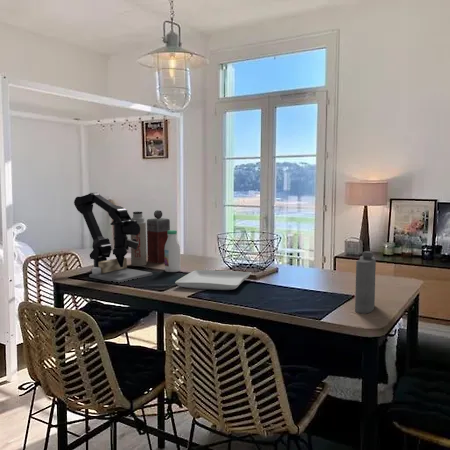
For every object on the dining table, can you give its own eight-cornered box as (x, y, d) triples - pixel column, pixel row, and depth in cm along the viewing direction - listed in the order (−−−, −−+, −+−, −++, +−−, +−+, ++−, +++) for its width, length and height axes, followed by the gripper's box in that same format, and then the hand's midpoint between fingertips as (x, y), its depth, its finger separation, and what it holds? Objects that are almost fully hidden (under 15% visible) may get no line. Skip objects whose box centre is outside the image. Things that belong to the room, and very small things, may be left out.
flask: (371, 314, 158) (373, 255, 156) (354, 312, 160) (355, 254, 158) (376, 303, 172) (377, 249, 170) (359, 302, 174) (361, 248, 172)
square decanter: (157, 258, 267) (156, 209, 264) (170, 261, 259) (169, 210, 256) (144, 261, 260) (143, 210, 257) (158, 263, 253) (157, 211, 250)
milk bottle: (181, 269, 236) (181, 229, 234) (178, 272, 229) (178, 231, 227) (166, 269, 237) (166, 229, 235) (163, 272, 229) (162, 231, 227)
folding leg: (103, 273, 220) (102, 262, 220) (98, 272, 222) (98, 262, 221) (126, 268, 233) (126, 257, 232) (122, 267, 234) (122, 257, 234)
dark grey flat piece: (87, 276, 220) (86, 265, 219) (120, 269, 236) (120, 259, 235) (118, 282, 207) (118, 271, 206) (152, 275, 223) (152, 264, 222)
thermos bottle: (142, 266, 245) (141, 212, 242) (128, 265, 247) (127, 212, 244) (149, 263, 252) (148, 211, 250) (135, 262, 255) (134, 211, 252)
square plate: (252, 279, 214) (252, 271, 214) (237, 294, 188) (237, 284, 188) (195, 276, 221) (195, 268, 221) (174, 290, 195) (173, 280, 195)
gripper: (136, 235, 217) (138, 269, 218) (138, 232, 236) (139, 263, 237) (112, 236, 216) (113, 270, 217) (115, 232, 234) (116, 264, 235)
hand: (121, 266), depth 226 cm, fingers closed
